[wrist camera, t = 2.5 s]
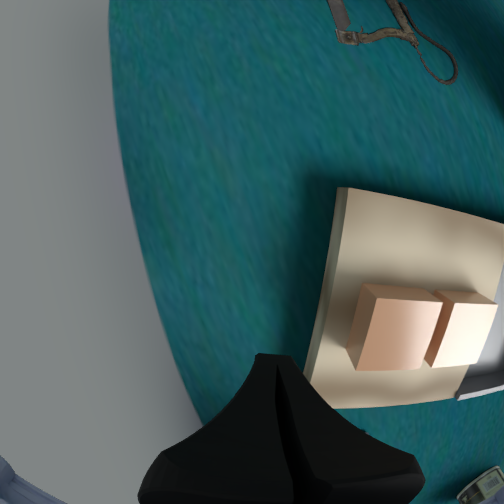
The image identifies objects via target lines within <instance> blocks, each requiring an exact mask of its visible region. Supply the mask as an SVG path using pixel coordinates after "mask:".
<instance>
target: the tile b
mask: <svg viewBox="0 0 504 504" xmlns="http://www.w3.org/2000/svg"><path fill="white" fill-rule="evenodd" d="M433 296H435V297H436V298H438V299H439V300H440V301H442V302H443V304H442V307H441V311H440V314H439V317H438V320H437V323H436V326H435V329H434V332H433V335H432V338H431V341H430V343H429V346H428V349H427V351H426V354H425V356H424V360H425V361H426V362H427V364H428V365H429V366H430V367H431V368H440V367H450V366H460V365H468V364H476V363H477V361H478V358H479V356H480V354H481V351H482V349H483V346H484V344H485V341H486V339H487V336H488V334H489V331H490V328H491V325H492V323H493V320H494V317H495V314H496V311H497V308H498V304H497V303H495V302H493V301H492V300H490V299H488V298H487V297H485V296H483V295H482V294H480V293H477V292H464V291H451V290H438V289H435V291H434V294H433Z"/></svg>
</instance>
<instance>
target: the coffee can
mask: <svg viewBox="0 0 504 504" xmlns="http://www.w3.org/2000/svg"><path fill="white" fill-rule="evenodd" d="M503 485H504V474H503V473H502V471H501V470H500V467H499V466H495V467H492V468H491V469H489V470H487V471H486V472H484V473H483V474H481V475H480V476H478V477H477V478H476V479H474V480H473V481H472V482H471V483H469V484H468V485H467V486H466V487H465V488H464V489H463V490H462V491H461V492H460V493H459V494H458V496H457V499H458V501H459V503H460V504H478V503H480V502H482V501H484V500H486V499H488V498H490V497H491V496H493V495H495V493H496V492H497V491H498V490H499V489H500V488H501V487H502V486H503Z"/></svg>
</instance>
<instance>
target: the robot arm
mask: <svg viewBox="0 0 504 504" xmlns="http://www.w3.org/2000/svg"><path fill="white" fill-rule="evenodd" d="M424 483H425V477H424V475H423V473H422V470H421V468H420V466H419V464H418V462H417V460H416V458H415V457H414V455H412V454H409V453H407V452H404V451H402V450H399V449H396V448H394V447H391V446H389V445H387V444H385V443H383V442H381V441H379V440H377V439H375V438H373V437H372V436H370V435H369V434H368V433H366V432H363V431H362V430H360V429H359V428H357V427H356V426H354V425H353V424H351V423H350V422H349V421H347V420H346V419H345V418H343V417H342V416H341V415H340V414H339V413H338V412H336V411H335V410H334V409H333V408H332V407H331V406H330V405H329V404H328V403H327V402H326V401H325V400H324V399H323V398H322V397H321V396H320V395H319V393H318V392H317V391H316V390H315V389H314V387H313V386H312V385H311V384H310V382H309V381H308V380H307V378H306V377H305V376H304V374H303V373H302V372H301V370H300V369H299V367H298V366H297V364H296V363H295V361H294V360H293V358H292V357H291V356H285V355H274V354H263V353H258V354H257V355H255V361H254V364H253V366H252V369H251V371H250V373H249V375H248V376H247V378H246V380H245V382H244V383H243V385H242V386H241V388H240V389H239V390H238V392H237V393H236V394H235V396H234V397H233V398H232V400H231V401H230V402H229V403H228V404H227V405H226V406H225V407H224V408H223V410H222V411H221V412H219V413H218V414H217V415H216V416H215V417H214V418H213V419H212V420H211V421H210V422H208V423H207V424H206V425H205V426H203V427H202V428H201V429H199V430H198V431H196V432H195V433H194V434H192V435H191V436H189V437H188V438H186V439H184V440H183V441H181V442H179V443H177V444H175V445H174V446H171V447H170V448H168V449H166V450H164V451H162V452H161V453H160V454H159V455H158V457H157V458H156V459H155V460H154V462H153V464H152V465H151V466H150V468H149V470H148V471H147V473H146V475H145V477H144V479H143V481H142V484H141V487H140V489H139V492H138V501H139V503H140V504H409V503H410V502H411V501H412V500H413V499H414V498H415V497H416V495H417V494H418V493H419V492H420V491H421V489H422V488H423V486H424ZM0 504H67V503H65V502H63V501H61V500H59V499H57V498H55V497H53V496H51V495H49V494H48V493H46V492H44V491H42V490H41V489H39V488H37V487H35V486H34V485H32V484H30V483H29V482H27V481H26V480H24V479H23V478H21V477H19V476H18V475H17V474H15V472H14V470H13V469H12V467H11V466H10V465H9V464H8V462H7V461H5V459H4V458H3V457H1V456H0ZM478 504H504V485H503V486H502V487H501V488H500V489H499V490H498V491H497V492H496V493H495V495H493V496H491V497H490V498H488V499H486V500H484V501H482V502H480V503H478Z"/></svg>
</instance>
